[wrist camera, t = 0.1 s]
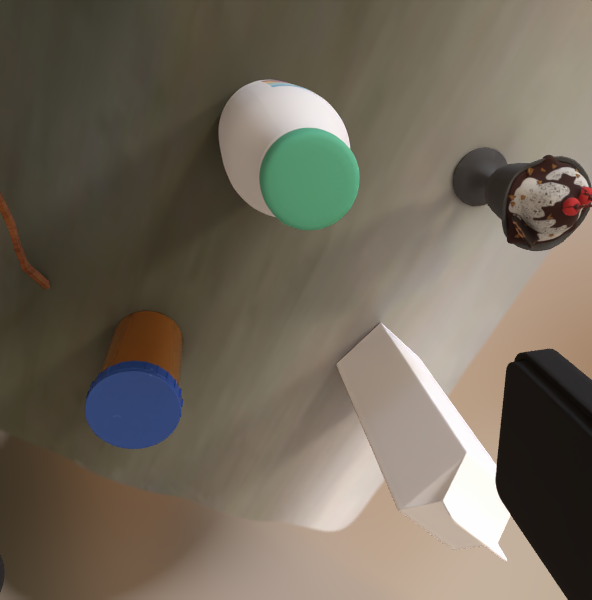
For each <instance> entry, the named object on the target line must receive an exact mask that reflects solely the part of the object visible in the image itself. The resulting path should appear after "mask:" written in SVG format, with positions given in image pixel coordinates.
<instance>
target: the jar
mask: <svg viewBox="0 0 592 600" xmlns="http://www.w3.org/2000/svg"><path fill="white" fill-rule="evenodd" d="M182 346H183V338H182V334H181V331H180V329H179V327H178V326H177V325H176V323H175V322H174V321H173V320H172V319H170V318H169V317H167V316H166V315H163V314H161V313H158V312H154V311H141V312H136V313H133V314H131V315H129V316H127V317H125V318H124V319H123V320H122V321H121V322H120V323H119V324H118V326H117V327H116V329H115V331H114V334H113V337H112V340H111V343H110V346H109V349H108V352H107V355H106V358H105V361H104V363H103V366H102V369H101V372H103V371H104V370H105V369H107V368H109V366H113V365H115V364H118V363H120V362H127V361H133V360H135V361H143V362H146V361H147V362H148V363H152V364H154V365H157V366H158V365H159V367H161V368H163V369H164V370H165V371H167V372H169V374H170V375H171V376H172V377H173V378H174V379H175V380H177V384H178V386H179V381H180V369H181V358H182Z"/></svg>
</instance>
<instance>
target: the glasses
mask: <svg viewBox="0 0 592 600" xmlns="http://www.w3.org/2000/svg"><path fill="white" fill-rule="evenodd" d="M0 212H1V214H2V216H3V218H4V220H5V222H6V224H7V226H8V229H9V232H10V236H11V239H12V243H13V246H14V250H15V252H16V255H17V257H18V260H19V262H20V265H21V267H22V270H23V271H24V272H25V273H27V274H28V275H29V276H30V277H31V278H33V279H34V280H35V281H36V282H37V283H38V284H40V285H41V286H42V287H43V288H44V289H48V288H49V286H50V282H49V281H48V280H47V279H46V278H45V277H43V276H42V275H41V274H40V273H39V272H38V271H37V270H36V269H34V268H33V267H32V266H31V265H30V264H29V263H28V261H27V259H26V256H25V253H24V251H23V248H22V246H21V243H20V239H19V235H18V232H17V228H16V225H15V222H14V220H13V217H12V215H11V213H10V211H9V209H8V207H7V205H6V203H5V201H4V199H3V197H2V195H1V193H0Z"/></svg>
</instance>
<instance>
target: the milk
mask: <svg viewBox="0 0 592 600" xmlns="http://www.w3.org/2000/svg"><path fill="white" fill-rule="evenodd" d="M336 366H337V368H338V370H339V373H340V375H341V377H342V380H343V382H344V384H345V387H346V389H347V392H348V394H349V396H350V399H351V401H352V403H353V406H354V408H355V410H356V413H357V415H358V417H359V420H360V422H361V424H362V427H363V429H364V432H365V434H366V436H367V439H368V441H369V443H370V446H371V448H372V450H373V453H374V455H375V457H376V460H377V462H378V464H379V467H380V469H381V472H382V474H383V476H384V479H385V481H386V483H387V486H388V488H389V490H390V493H391V495H392V497H393V500H394V502H395V504H396V507H397V509H398V511H400V512H401V513H402V514H404V515H405V516H406V517H408V518H409V519H410V520H412V521H413V522H415V523H416V524H417V525H419V526H420V527H421V528H423V529H424V530H426V531H427V532H428V533H430V534H431V535H432V536H434V537H435V538H436V539H438V540H439V541H440V542H442V543H443V544H445V545H446V546H447V547H449V548H450V549H452V550H456V549H465V548H472V547H480V546H486V547H487V548H488V549H489V550H491V551H492V552H493V553H495V554H496V555H497V556H499V557H500V558H501V559H503V560H504V561H505V562H506V561H507V558H506V557H505V555H504V553H503V552H502V550H501V548H500V547H499V545H498V542H499V540H500V537H501V535H502V533H503V530H504V528H505V526H506V524H507V522H508V519H509V517H510V515H511V514H510V513H509V512H508V510H507V509H506V507H505V506H504V504H503V503H502V501H501V499H500V497H499V495H498V492H497V489H496V483H495V477H496V467H497V465H496V464H495V463H494V461H493V460H492V459H491V457H490V456H489V454H488V453H487V452H486V450H485V449H484V447H483V446H482V444H481V443H480V442H479V440H478V439H477V438H476V436H475V435H474V434H473V432H472V431H471V429H470V428H469V427H468V425H467V424H466V422H465V421H464V419H463V418H462V417H461V415H460V414H459V412H458V411H457V410H456V408H455V407H454V406H453V404H452V403H451V401H450V400H449V398H448V397H447V396H446V394H445V393H444V392H443V390H442V389H441V387H440V386H439V385H438V383H437V382H436V380H435V379H434V378H433V376H432V375H431V373H430V372H429V371H428V369H427V368H426V366H425V365H424V364H423V362H422V361H421V359H420V358H419V357H418V356H417V355H416V354H415V353H414V352H412V351H411V350H410V349H409V348H408V347H407V346H406V345H405V344H404V343H403V342H402V341H401V340H399V339H398V338H397V337H396V336H395V335H394V334H393V333H392V332H391V331H390V330H389V329H388V328H386V327H385V326H384V325H383V324H382V323H379V324H378V325H377V326H376V327H375V328H374V329H373V330H372V331H371V332H370V333H369V334H368V335H367V336H366V337H365V338H363V339H362V340H361V341H360V342H359V343H358V344H357V345H356V346H355V347H354V348H353V349H352V350H351V351H350V352H349V353H347V354H346V355H345V356H344V357H343V358H342V359H341V360H340V361H339V362H338V363H337V364H336Z"/></svg>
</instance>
